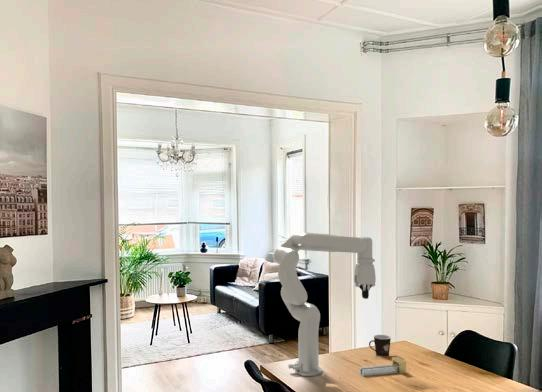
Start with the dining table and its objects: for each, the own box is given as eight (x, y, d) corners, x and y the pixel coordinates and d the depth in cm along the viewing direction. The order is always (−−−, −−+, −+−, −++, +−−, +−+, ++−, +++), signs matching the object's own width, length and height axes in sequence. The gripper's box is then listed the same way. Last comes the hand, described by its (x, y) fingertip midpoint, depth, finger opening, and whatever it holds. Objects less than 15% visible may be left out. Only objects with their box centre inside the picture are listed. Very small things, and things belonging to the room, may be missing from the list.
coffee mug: (389, 354, 224) (389, 335, 225) (392, 359, 216) (392, 339, 217) (367, 353, 226) (367, 334, 226) (369, 358, 217) (369, 338, 218)
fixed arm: (363, 376, 189) (363, 370, 189) (362, 375, 191) (362, 369, 191) (402, 372, 194) (402, 366, 194) (401, 371, 196) (401, 365, 196)
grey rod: (361, 374, 191) (361, 367, 192) (359, 372, 193) (359, 366, 194) (402, 370, 196) (402, 364, 197) (400, 369, 198) (400, 362, 198)
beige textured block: (400, 374, 192) (400, 362, 192) (392, 368, 199) (391, 357, 199) (406, 373, 193) (406, 361, 193) (397, 368, 200) (397, 356, 200)
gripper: (374, 260, 218) (375, 296, 217) (348, 261, 215) (348, 297, 214) (381, 262, 211) (382, 298, 210) (354, 262, 207) (355, 300, 206)
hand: (365, 298), depth 212 cm, fingers closed
